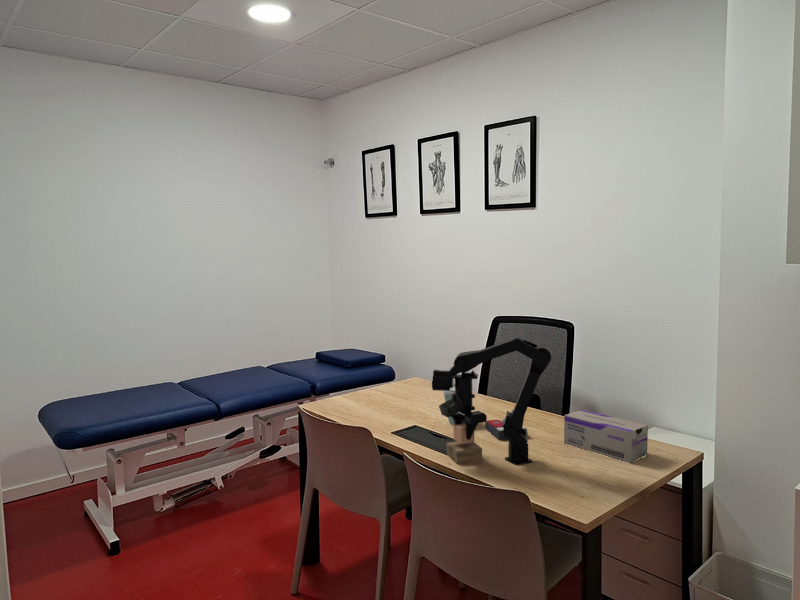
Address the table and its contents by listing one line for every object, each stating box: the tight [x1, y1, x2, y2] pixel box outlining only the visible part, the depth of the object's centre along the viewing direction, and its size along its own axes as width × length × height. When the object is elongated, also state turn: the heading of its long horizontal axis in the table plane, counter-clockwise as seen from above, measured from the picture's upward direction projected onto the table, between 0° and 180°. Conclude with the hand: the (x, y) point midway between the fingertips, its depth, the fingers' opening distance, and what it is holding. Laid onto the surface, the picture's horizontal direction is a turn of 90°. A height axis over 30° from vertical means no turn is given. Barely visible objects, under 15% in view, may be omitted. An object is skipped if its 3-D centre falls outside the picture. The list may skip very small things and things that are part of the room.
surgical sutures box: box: [563, 409, 649, 464], centre depth 201 cm, size 25×11×11 cm, turn 39°
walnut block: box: [446, 441, 483, 465], centre depth 196 cm, size 9×9×4 cm
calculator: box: [484, 418, 528, 441], centre depth 221 cm, size 11×4×15 cm
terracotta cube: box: [452, 423, 475, 444], centre depth 195 cm, size 5×5×5 cm
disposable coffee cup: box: [442, 383, 455, 425], centre depth 234 cm, size 11×11×15 cm
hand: (464, 437), depth 196 cm, fingers open, 5 cm apart
